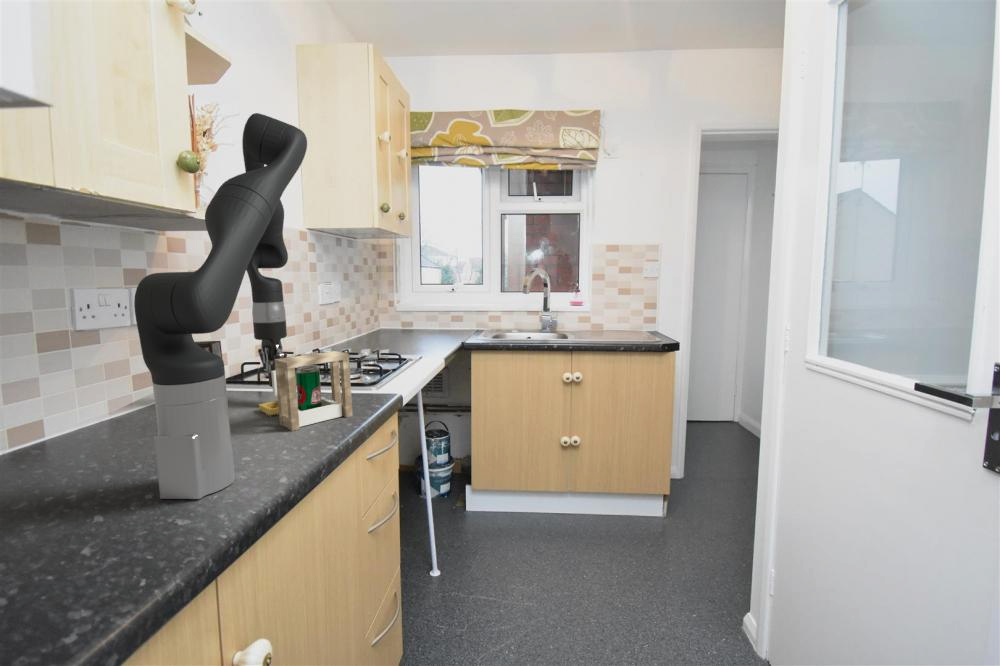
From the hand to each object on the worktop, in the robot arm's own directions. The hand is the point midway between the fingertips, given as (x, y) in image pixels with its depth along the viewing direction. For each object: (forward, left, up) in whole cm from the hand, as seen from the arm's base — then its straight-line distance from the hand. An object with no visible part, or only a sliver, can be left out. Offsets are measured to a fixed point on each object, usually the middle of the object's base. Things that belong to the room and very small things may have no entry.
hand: (274, 386), depth 120 cm
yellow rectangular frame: (-5, -6, -4) cm, 9 cm away
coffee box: (+1, +20, -5) cm, 20 cm away
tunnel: (-15, -18, -4) cm, 23 cm away
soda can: (-13, -15, -5) cm, 20 cm away
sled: (-9, -11, -4) cm, 15 cm away
